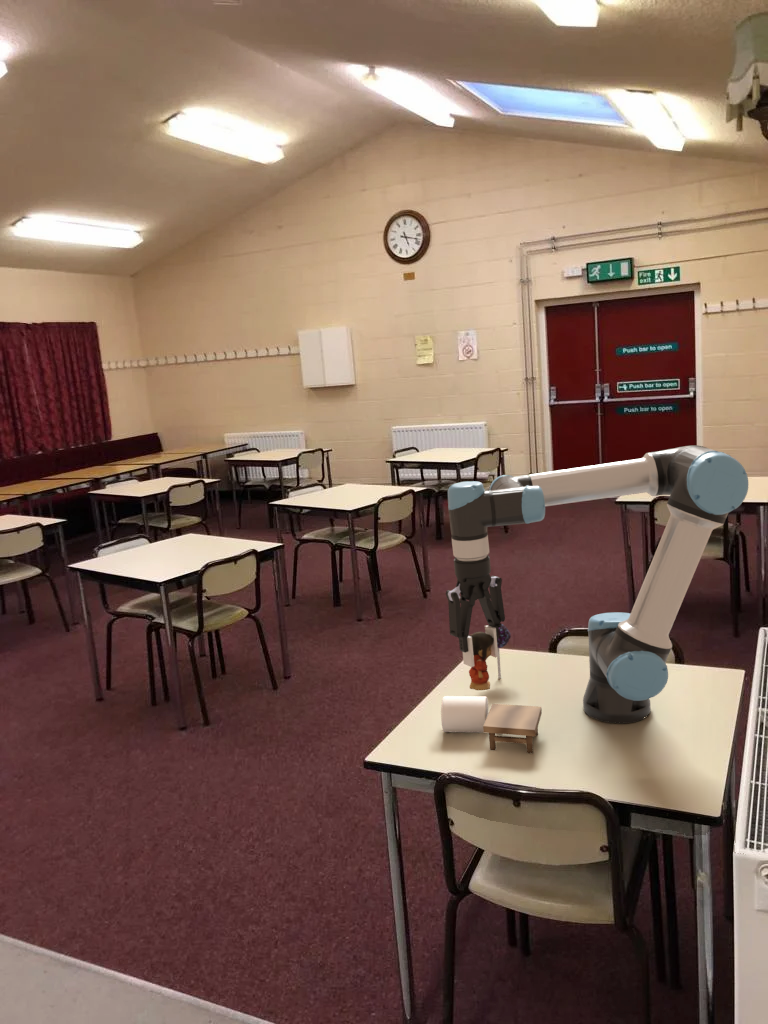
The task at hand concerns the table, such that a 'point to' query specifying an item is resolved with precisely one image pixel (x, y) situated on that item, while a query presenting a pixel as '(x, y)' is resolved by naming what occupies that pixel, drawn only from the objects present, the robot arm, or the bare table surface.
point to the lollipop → (502, 643)
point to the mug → (464, 713)
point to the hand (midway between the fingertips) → (481, 659)
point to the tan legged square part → (512, 724)
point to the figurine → (480, 660)
